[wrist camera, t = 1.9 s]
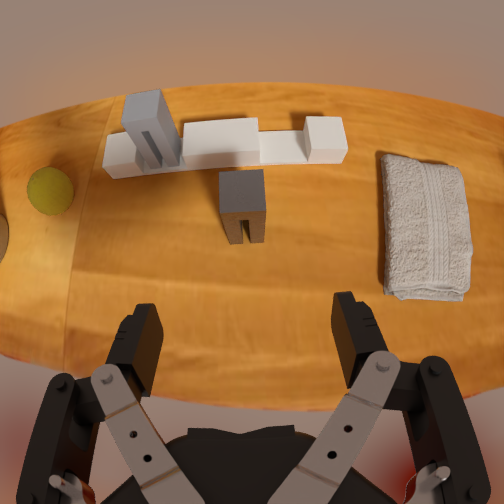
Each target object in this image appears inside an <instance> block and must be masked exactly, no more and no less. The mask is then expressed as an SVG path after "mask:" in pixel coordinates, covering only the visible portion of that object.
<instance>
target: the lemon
mask: <svg viewBox="0 0 504 504" xmlns="http://www.w3.org/2000/svg"><path fill="white" fill-rule="evenodd" d="M27 194H28V198H29V200H30V202H31V204H32V205H33V206H34V207H35V208H36V209H37V210H38V211H40V212H41V213H43V214H46V215H49V216H55V215H59V214H62V213H63V212H65V211H66V210H67V209H68V208H69V207H70V205H71V203H72V201H73V197H74V188H73V184H72V182H71V180H70V179H69V177H68V176H67V175H66V174H65V173H64V172H62V171H60V170H58V169H56V168H53V167H44V168H41V169H39V170H37V171H36V172H35V173H34V174H33V175H32V176H31V178H30V179H29V182H28V186H27Z"/></svg>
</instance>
